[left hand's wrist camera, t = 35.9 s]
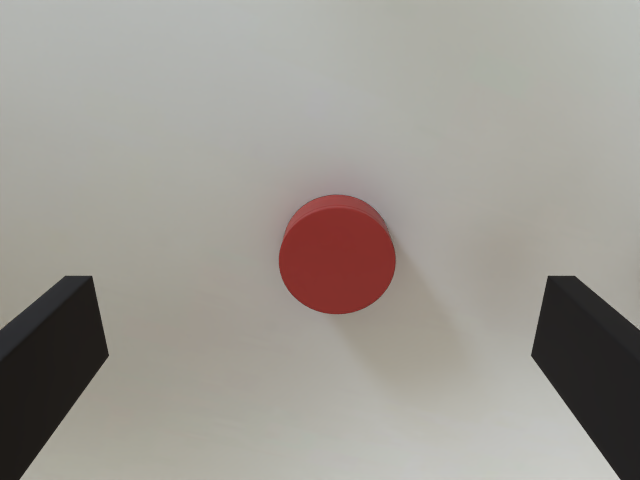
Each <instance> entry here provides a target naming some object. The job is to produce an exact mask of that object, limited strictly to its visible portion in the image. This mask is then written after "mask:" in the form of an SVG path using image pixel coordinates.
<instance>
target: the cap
mask: <svg viewBox="0 0 640 480" xmlns="http://www.w3.org/2000/svg"><path fill="white" fill-rule="evenodd" d="M395 263H396V260H395V251H394V247H393V244H392V241H391V238H390V235H389V232H388V229H387V226H386V224H385V222H384V220H383V219H382V217H381V216H380V215H379V214H378V212H377V211H376V210H375V209H374V208H372V207H371V206H370V205H368V204H367V203H365V202H364V201H361V200H359V199H357V198H354V197H350V196H345V195H329V196H324V197H320V198H317V199H314V200H312V201H310V202H309V203H307V204H306V205H304V206H303V207H301V208H300V209H299V210H298V211H297V212H296V213H295V215H294V216H293V217H292V219H291V220H290V222H289V224H288V226H287V228H286V231H285V235H284V238H283V242H282V245H281V249H280V254H279V268H280V273H281V276H282V279H283V281H284V284H285V285H286V287H287V289H288V290H289V291H290V293H291V294H292V295H293V296H294V297H295V298H296V299H297V300H298V301H300V302H301V303H302V304H304V305H305V306H307V307H309V308H311V309H314V310H316V311H319V312H323V313H329V314H346V313H351V312H355V311H358V310H361V309H363V308H365V307H367V306H369V305H370V304H372V303H373V302H375V301H376V300H377V299H378V298H379V297H380V296H381V295H382V294H383V293H384V292H385V290H386V289H387V288H388V286H389V284H390V282H391V280H392V277H393V275H394V270H395Z"/></svg>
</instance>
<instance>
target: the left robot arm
mask: <svg viewBox="0 0 640 480" xmlns="http://www.w3.org/2000/svg"><path fill="white" fill-rule="evenodd" d="M108 356H109V354H108V349H107V344H106V339H105V335H104V330H103V325H102V321H101V316H100V311H99V306H98V302H97V297H96V292H95V288H94V283H93V278H92V276H65V277H63V278H62V279H61V280H60V281H59V282H58V283H56V284H55V285H54V286H53V287H52V288H50V289H49V290H48V291H47V292H46V293H44V294H43V295H42V296H41V297H40V298H38V299H37V300H36V301H35V302H34V303H32V304H31V305H30V306H29V307H28V308H26V309H25V310H24V311H23V312H22V313H20V314H19V315H18V316H17V317H16V318H14V319H13V320H12V321H11V322H10V323H8V324H7V325H6V326H5V327H4V328H2V329H1V330H0V480H20V478H21V477H22V475H23V474H24V473H25V471H26V470H27V468H28V467H29V466H30V464H31V463H32V462H33V460H34V459H35V457H36V456H37V455H38V453H39V452H40V450H41V449H42V448H43V446H44V445H45V443H46V442H47V441H48V439H49V438H50V437H51V435H52V434H53V432H54V431H55V430H56V428H57V427H58V425H59V424H60V423H61V421H62V420H63V419H64V417H65V416H66V414H67V413H68V412H69V410H70V409H71V407H72V406H73V405H74V403H75V402H76V401H77V399H78V398H79V396H80V395H81V394H82V392H83V391H84V389H85V388H86V387H87V385H88V384H89V383H90V381H91V380H92V378H93V377H94V376H95V374H96V373H97V371H98V370H99V369H100V367H101V366H102V365H103V363H104V362H105V360H106V359H107V358H108ZM531 356H532V358H533V359H534V360H535V362H536V363H537V365H538V366H539V367H540V369H541V370H542V371H543V373H544V374H545V376H546V377H547V378H548V380H549V381H550V383H551V384H552V385H553V387H554V388H555V389H556V391H557V392H558V394H559V395H560V396H561V398H562V399H563V401H564V402H565V403H566V405H567V406H568V407H569V409H570V410H571V412H572V413H573V414H574V416H575V417H576V419H577V420H578V421H579V423H580V424H581V425H582V427H583V428H584V430H585V431H586V432H587V434H588V435H589V437H590V438H591V439H592V441H593V442H594V444H595V445H596V446H597V448H598V449H599V450H600V452H601V453H602V455H603V456H604V457H605V459H606V460H607V462H608V463H609V464H610V466H611V467H612V468H613V470H614V471H615V473H616V474H617V475H618V477H619V478H620V480H640V330H639V329H638V328H636V327H635V326H634V325H633V324H632V323H630V322H629V321H628V320H627V319H626V318H624V317H623V316H622V315H621V314H620V313H618V312H617V311H616V310H615V309H614V308H612V307H611V306H610V305H609V304H608V303H606V302H605V301H604V300H603V299H602V298H600V297H599V296H598V295H597V294H596V293H594V292H593V291H592V290H591V289H590V288H588V287H587V286H586V285H585V284H584V283H582V282H581V281H580V280H579V279H578V278H577V277H575V276H548V278H547V283H546V288H545V292H544V297H543V302H542V306H541V311H540V316H539V321H538V325H537V330H536V335H535V339H534V344H533V349H532V354H531Z"/></svg>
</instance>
